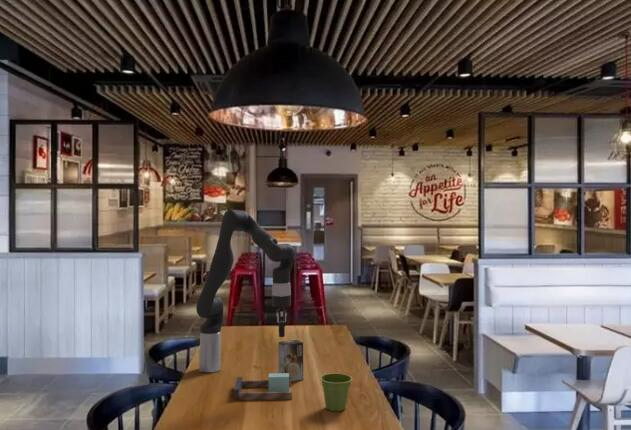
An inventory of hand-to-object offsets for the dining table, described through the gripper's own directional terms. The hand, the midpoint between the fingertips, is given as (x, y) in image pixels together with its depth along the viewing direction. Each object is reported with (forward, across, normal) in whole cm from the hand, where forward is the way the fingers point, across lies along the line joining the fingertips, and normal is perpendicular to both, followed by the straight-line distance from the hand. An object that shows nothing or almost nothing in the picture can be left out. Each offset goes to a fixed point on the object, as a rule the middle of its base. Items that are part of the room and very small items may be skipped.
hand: (281, 334), depth 227 cm
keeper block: (+23, +1, -1) cm, 23 cm away
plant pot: (+23, +21, +19) cm, 37 cm away
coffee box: (+23, -16, +4) cm, 28 cm away
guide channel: (+23, +1, -7) cm, 24 cm away
